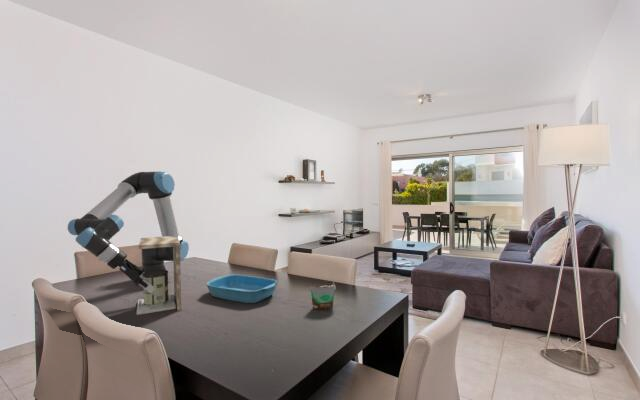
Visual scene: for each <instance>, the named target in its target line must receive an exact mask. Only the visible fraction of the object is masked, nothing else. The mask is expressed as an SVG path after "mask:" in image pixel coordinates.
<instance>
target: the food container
mask: <svg viewBox="0 0 640 400" xmlns="http://www.w3.org/2000/svg"><path fill="white" fill-rule="evenodd" d="M336 289H337V287H336V284H335V282H332V283H331V284H328V285H327V284H324V285H323V284H322V285H319V286H312V285H310V287H309V292H311V293H310V295H311V303H312V309H313V308H315V309H314V310H316V309H319V310H318V311H326V310H325V309H329V310H331V309H333V308H332V307H333V306H334V296H335V291H336ZM330 308H331V309H330Z"/></svg>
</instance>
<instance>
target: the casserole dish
mask: <svg viewBox="0 0 640 400" xmlns="http://www.w3.org/2000/svg"><path fill="white" fill-rule="evenodd" d="M277 282H278V281H277V279H272V278H266V277H260V276H253V275H245V274H229V275H228V274H227V275H224V276H219V277H218V276H217V277H215V278H211V279H210V280H209V281H207V282H206V287H207V288H208V291H209V293H210V295H211V296H212V297H215V298H218V299H222V300H228V301H233V302H238V303H244V304H255V303H259V302H261V301H263V300H264V299H267V298H269V297H271V295H273V294H274V292H275V290H276V288H277V287H276V286H277V284H278V283H277Z"/></svg>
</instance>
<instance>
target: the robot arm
mask: <svg viewBox="0 0 640 400" xmlns="http://www.w3.org/2000/svg"><path fill="white" fill-rule="evenodd" d="M174 190H175V180H174V178H173V176H172V175H171V174H170V173H169V172H166V171H161V170H160V171H139V172H136V173H135V172H134V173H133V174H132V175H130V176H128V177H126V178H124V179H123V180H122V181H121V182H120V183H118V185H117V187H116V188H115V189H114V190H113V191H112V192H111V193H109V194H108V195H107V196H106V197H105V198H103V199H102V200H101V201H100V202H99V203H97V204H96V205H95V206H93V208H92V209H90V210H89V211H88V212H86V214H85V215H83V216H81V218H74V219H71V220H70V221H69V222H68V224H67V231H68V233H69V234H70V235H72V236H76V237H75V242H76V243H77V244H78V245H80V246H81V247H82V248H84V249H85V250H87V251H88V252H89V253H91V254H92V255H93V256H95V257H96V258H98V261H99V262H100V261H102V262H103V263H105V264H106V265H107V266H109V267H110V269H112V270H113V269H116V268H117V267H119V271H121V272H122V273H123V274H125V276H126V277H128V278H129V279H130V281H132V282H133V283H134V284H135V286H137V287H138V285H139V287H142V288H144V289H146V290H147V291H148V292H150V293H152V292H153V291H154V290H155V289H156V288H155V287H154V286H152V285H151V284H150V283H148V282H147V281H146V280H144V279H143V273H144V272H147V271H152V270H167V267H166V266H165V262H174V258H173V247H161V248H148V249H141V267H139V266H138V265H136V264H135V263H132V262H131V261H130V260H128V259H127V257H128V255H127V253H125V252H124V251H122V250H120V248H118V247H117V246H116V245H115V244H114V243H112V242H110V240H111V239H112V238H113V237H114V236H115V235H117V234H118V232H120V231H121V229H122V228H124V225H125V224H124V223H125V222H124V220H123V218H122V217H120V215H117V214H114V213H115V212H116V211H117V210H118V209H119V208H120V207H121V206H122V205H124V204H125V203H126V202H127V201H128V200H129V199H131V198H135V196H137V195H139V194H147V195H148V199H149V200H152V202H153V206H154V210H155V214H156V217H157V221H158V225H159V229H160V234H161V237H165V236H177V238H178V240H179V242H180V262H182V261H184V260H185V259H186V258H187V255H188V254H189V248H190V247H189V243H188V242H187V241H185V240H183V236H182V235H180V234H179V232H178V226H177V222H176V218H175V214H174V210H173V209H174V208H173V205H172V201H171V198H170V197H172V195H173V192H174Z"/></svg>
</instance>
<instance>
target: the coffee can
mask: <svg viewBox="0 0 640 400" xmlns="http://www.w3.org/2000/svg"><path fill="white" fill-rule="evenodd" d="M143 279H144V280H146V281H147V282H148V283H150V284H151V285H152V286H154V287H155V288H156V289H155V290H154V291H153V292H152V293H150V292H148V291H147V290H146V289H144V288H143V287H142V288H143V299H144V306H146V307H150V305H152V304H159V303H163V305H164V304H166V303H168V302H169V300H168V296H169V270H167V269H166V270H152V271H147V272H144V273H143Z"/></svg>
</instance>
